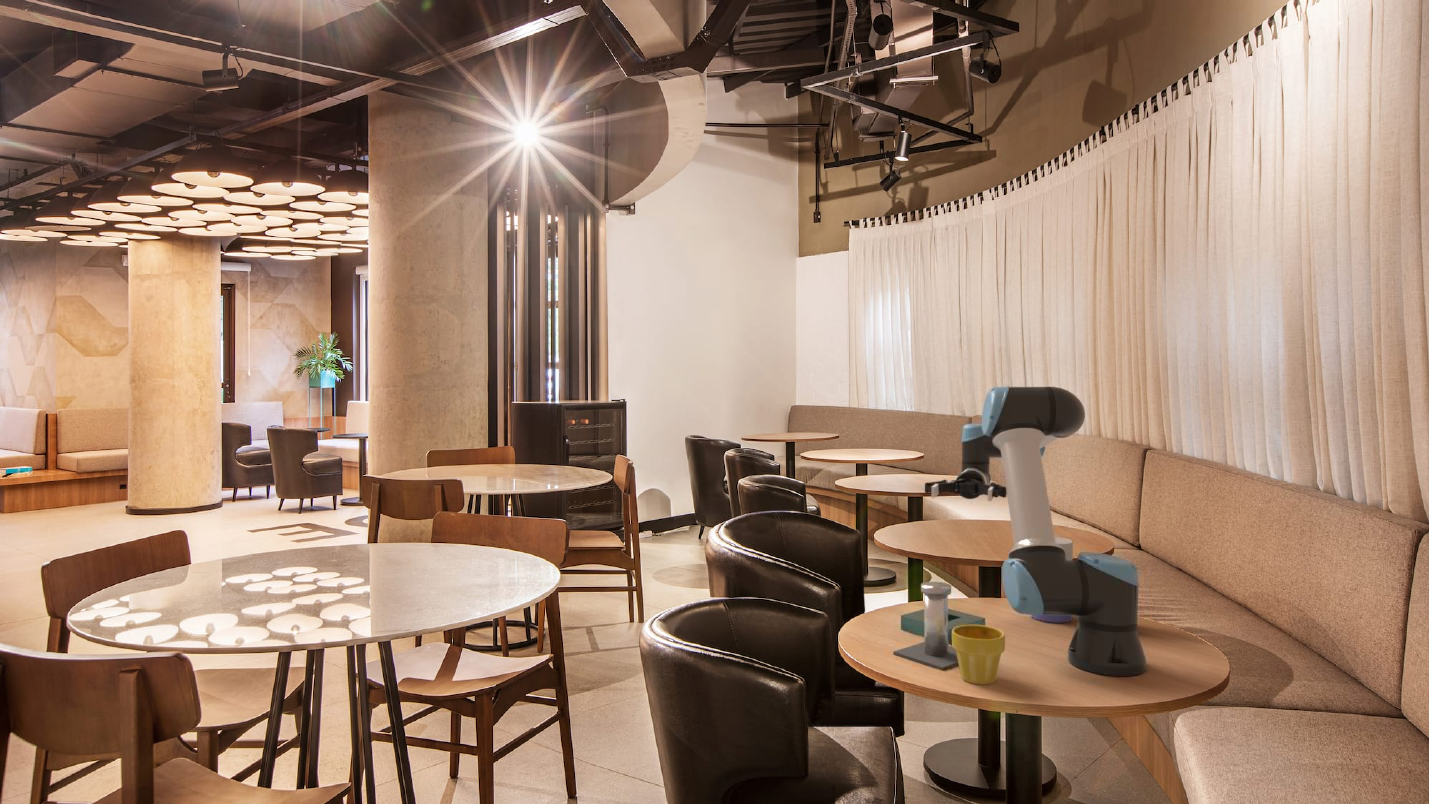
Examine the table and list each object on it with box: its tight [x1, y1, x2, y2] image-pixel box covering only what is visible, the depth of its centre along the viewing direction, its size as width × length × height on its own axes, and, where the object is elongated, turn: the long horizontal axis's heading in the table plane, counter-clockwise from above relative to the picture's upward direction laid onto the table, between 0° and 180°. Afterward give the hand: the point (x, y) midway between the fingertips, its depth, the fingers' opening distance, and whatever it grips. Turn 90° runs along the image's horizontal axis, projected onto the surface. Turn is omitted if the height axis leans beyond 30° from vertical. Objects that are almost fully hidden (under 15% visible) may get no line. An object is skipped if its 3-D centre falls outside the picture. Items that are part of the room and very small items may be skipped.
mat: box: [892, 641, 959, 671], centre depth 187 cm, size 13×13×1 cm
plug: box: [920, 581, 952, 657], centre depth 187 cm, size 6×6×15 cm
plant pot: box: [951, 625, 1006, 685], centre depth 173 cm, size 10×10×10 cm
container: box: [1029, 536, 1074, 624], centre depth 216 cm, size 10×10×20 cm
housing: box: [900, 608, 986, 645], centre depth 205 cm, size 14×14×4 cm
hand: (960, 493), depth 212 cm, fingers open, 13 cm apart
